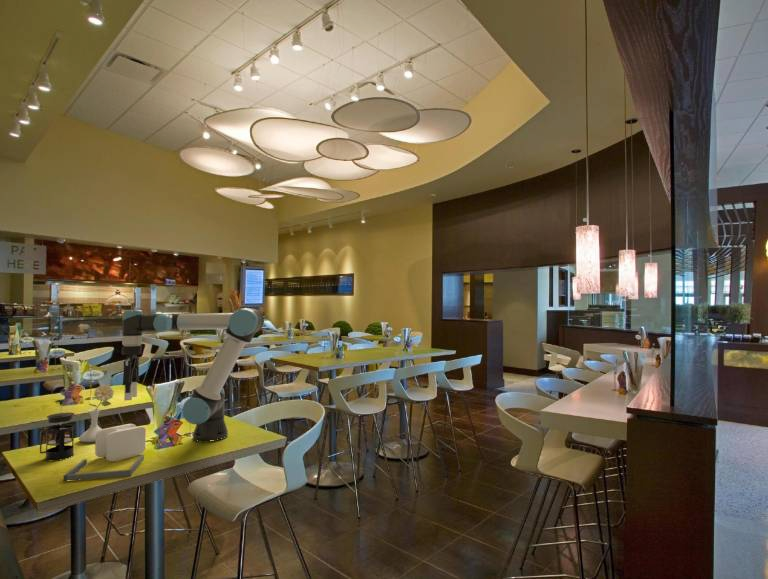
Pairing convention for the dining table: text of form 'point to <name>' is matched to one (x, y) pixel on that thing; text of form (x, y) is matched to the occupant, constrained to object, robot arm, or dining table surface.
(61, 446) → the french press
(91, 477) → the frame
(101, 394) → the flower in vase
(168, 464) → the dining table surface
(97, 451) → the white napkin holder
